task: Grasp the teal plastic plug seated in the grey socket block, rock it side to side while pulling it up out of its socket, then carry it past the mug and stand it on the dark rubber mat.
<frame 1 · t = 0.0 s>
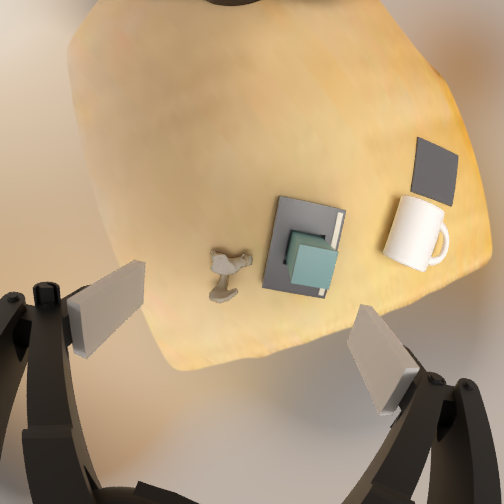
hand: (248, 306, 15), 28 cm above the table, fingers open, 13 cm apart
grey socket block: (301, 245, 43), on the table
plug: (302, 246, 42), resting on grey socket block
mug: (411, 233, 41), on the table
bone: (228, 262, 44), on the table
mat: (435, 172, 38), on the table
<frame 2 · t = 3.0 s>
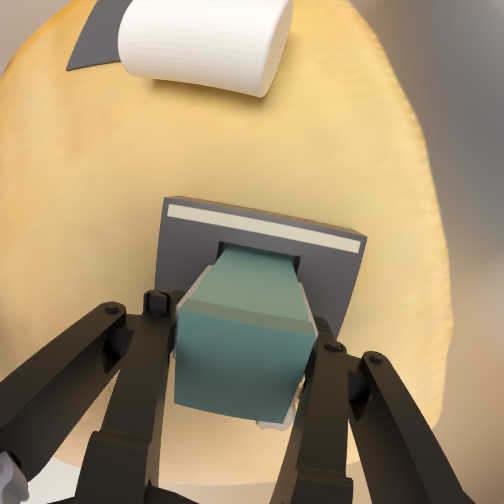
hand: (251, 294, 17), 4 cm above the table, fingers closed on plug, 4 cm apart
grey socket block: (254, 274, 21), on the table
plug: (254, 276, 21), resting on grey socket block, touching gripper
mug: (226, 41, 17), on the table
bone: (283, 387, 24), on the table
mat: (117, 25, 17), on the table
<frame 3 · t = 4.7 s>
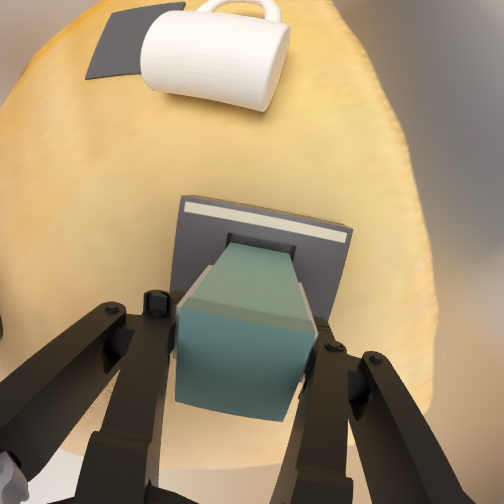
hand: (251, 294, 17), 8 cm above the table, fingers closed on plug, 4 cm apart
grey socket block: (257, 262, 25), on the table
plug: (254, 276, 21), point 4 cm above the table, touching gripper
mug: (232, 58, 21), on the table
mat: (133, 38, 20), on the table
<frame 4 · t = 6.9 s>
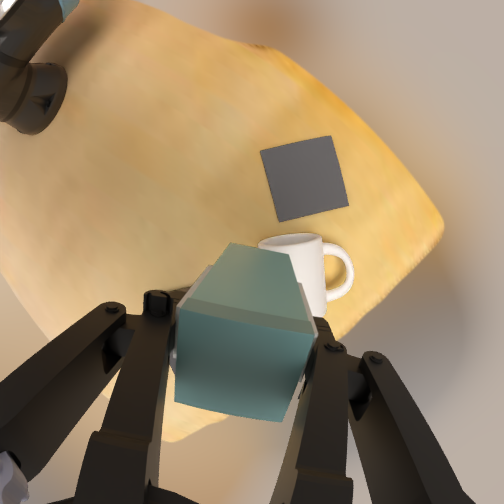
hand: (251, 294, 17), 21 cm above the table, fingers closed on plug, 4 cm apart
plug: (253, 276, 21), point 17 cm above the table, touching gripper
mug: (305, 266, 38), on the table
mat: (305, 177, 35), on the table
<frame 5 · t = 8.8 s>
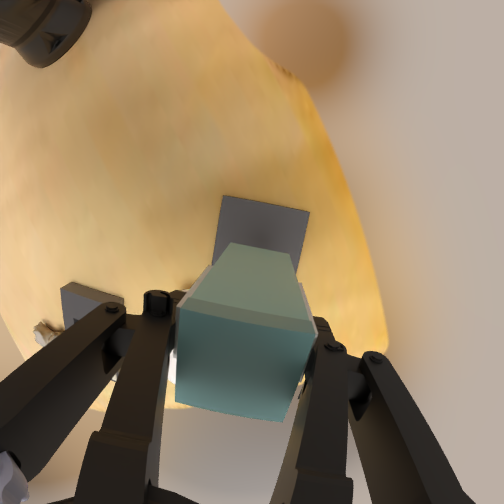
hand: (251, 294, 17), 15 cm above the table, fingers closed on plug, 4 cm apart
grey socket block: (98, 329, 36), on the table
plug: (254, 276, 21), point 11 cm above the table, touching gripper
bone: (55, 333, 38), on the table
mat: (258, 245, 32), on the table
when the fingers open (5 cm above the table, at t = 10.7 s): plug drops 1 cm, resting on mat.
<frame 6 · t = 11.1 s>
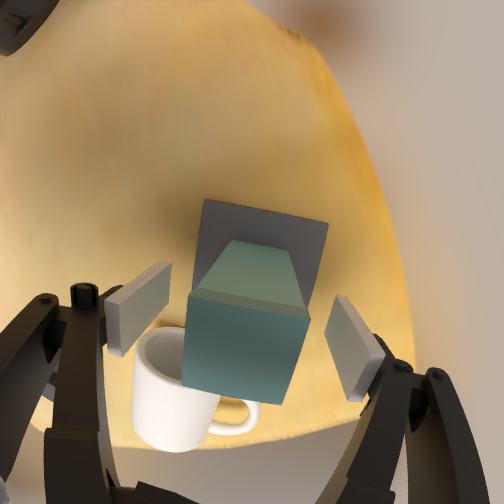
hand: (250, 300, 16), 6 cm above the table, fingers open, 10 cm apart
plug: (254, 271, 22), resting on mat
mug: (205, 373, 26), on the table
mat: (255, 270, 22), on the table
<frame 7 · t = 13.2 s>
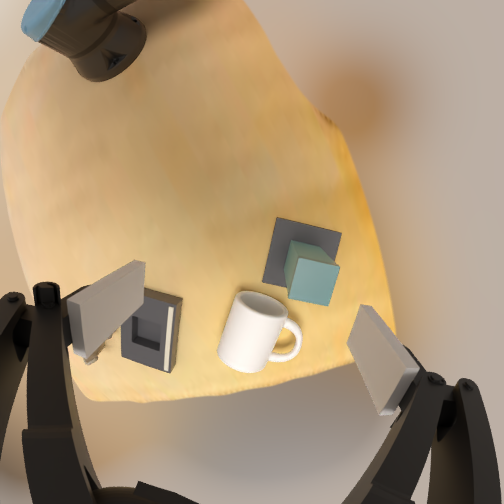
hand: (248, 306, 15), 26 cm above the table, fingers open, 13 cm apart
grey socket block: (152, 326, 45), on the table
plug: (301, 257, 40), resting on mat
mug: (264, 323, 43), on the table
bone: (103, 329, 46), on the table
mat: (301, 257, 41), on the table
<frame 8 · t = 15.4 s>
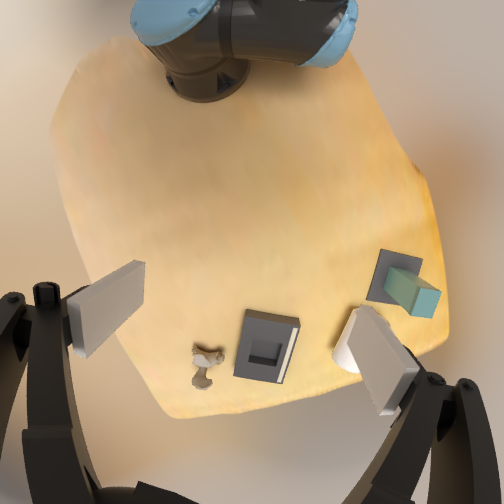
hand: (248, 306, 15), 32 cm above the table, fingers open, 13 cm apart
grey socket block: (265, 344, 51), on the table
plug: (396, 279, 46), resting on mat
mug: (363, 332, 50), on the table
bone: (207, 352, 53), on the table
mat: (395, 279, 47), on the table
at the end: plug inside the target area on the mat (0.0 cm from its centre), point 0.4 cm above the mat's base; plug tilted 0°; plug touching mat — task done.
